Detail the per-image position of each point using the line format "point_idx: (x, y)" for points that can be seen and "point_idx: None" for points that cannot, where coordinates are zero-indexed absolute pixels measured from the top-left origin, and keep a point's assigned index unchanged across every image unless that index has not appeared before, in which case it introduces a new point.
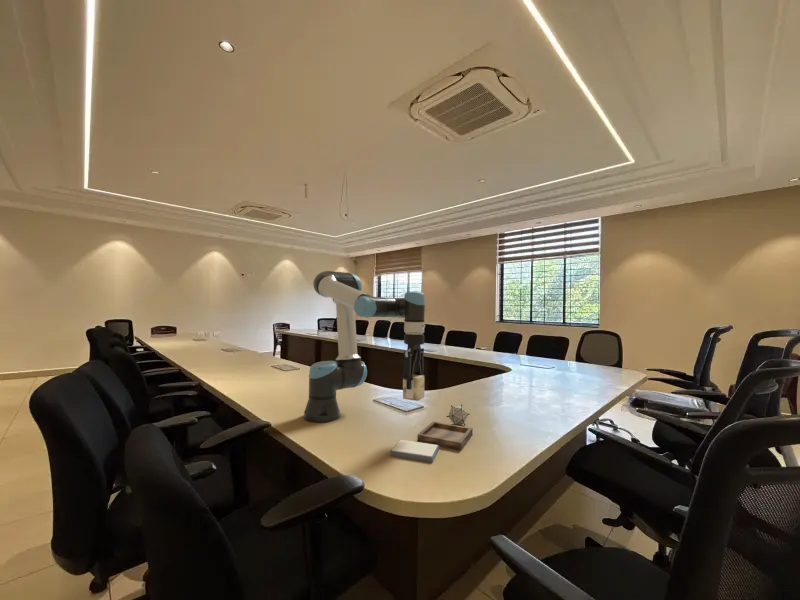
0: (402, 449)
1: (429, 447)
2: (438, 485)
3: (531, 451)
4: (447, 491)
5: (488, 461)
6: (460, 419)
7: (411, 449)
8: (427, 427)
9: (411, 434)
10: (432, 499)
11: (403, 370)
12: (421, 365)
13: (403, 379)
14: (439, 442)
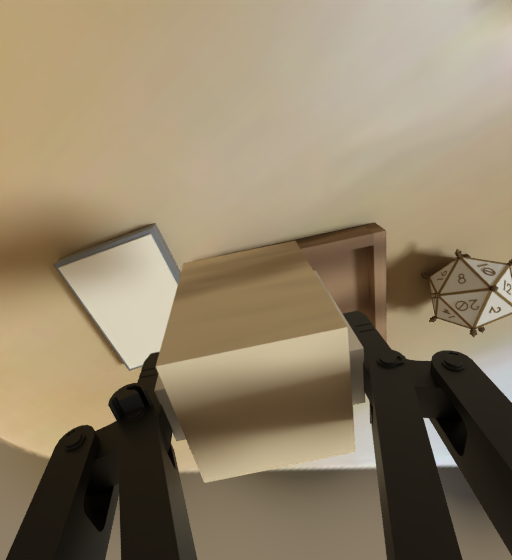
0: (92, 290)
1: None
2: (57, 418)
3: (346, 459)
4: (55, 437)
5: None
6: (435, 312)
7: (117, 309)
8: (306, 253)
9: (261, 200)
10: (6, 434)
11: (19, 533)
12: (482, 493)
13: (162, 352)
14: None
